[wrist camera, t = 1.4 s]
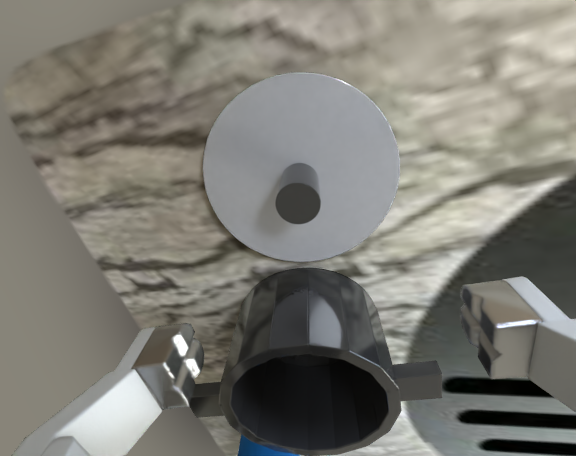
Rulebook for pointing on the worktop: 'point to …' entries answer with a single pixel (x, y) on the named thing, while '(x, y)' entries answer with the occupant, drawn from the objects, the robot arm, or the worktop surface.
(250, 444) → the beverage can
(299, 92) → the pot lid
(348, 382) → the pot
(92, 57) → the worktop surface
